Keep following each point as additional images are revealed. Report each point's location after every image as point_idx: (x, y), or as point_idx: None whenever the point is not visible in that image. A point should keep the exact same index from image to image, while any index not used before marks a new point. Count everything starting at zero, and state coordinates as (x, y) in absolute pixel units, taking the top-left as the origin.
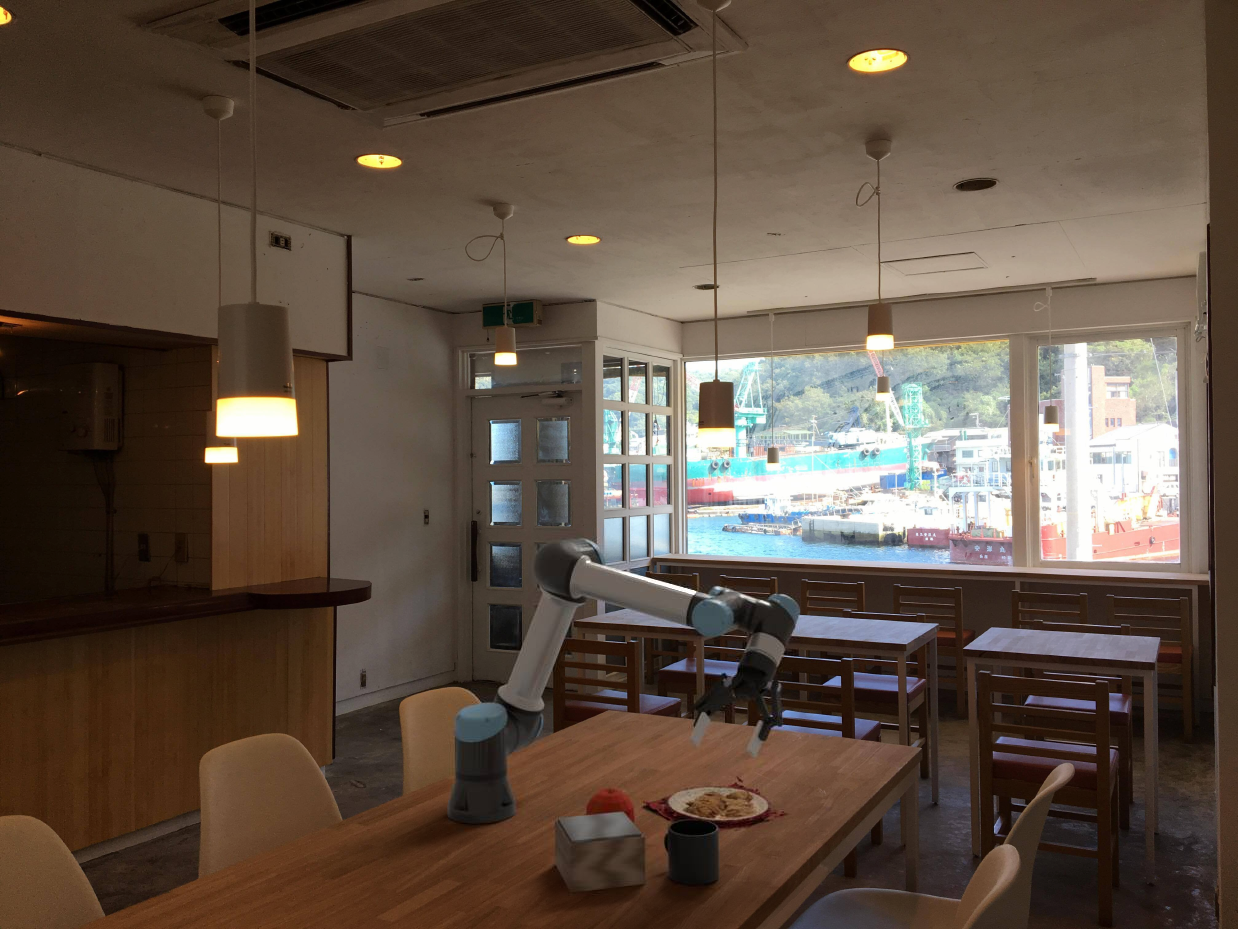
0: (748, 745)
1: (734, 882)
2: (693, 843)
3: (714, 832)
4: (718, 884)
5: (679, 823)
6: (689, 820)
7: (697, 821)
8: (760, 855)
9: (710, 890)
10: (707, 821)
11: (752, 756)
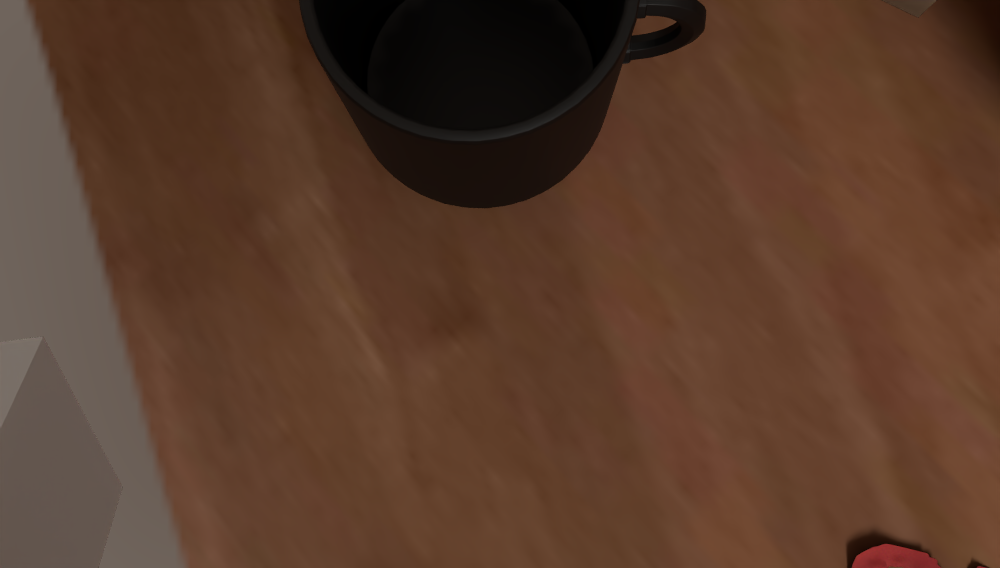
0: (16, 386)
1: (285, 172)
2: None
3: (300, 5)
4: (326, 98)
5: (623, 5)
6: (596, 68)
7: (552, 106)
8: (425, 563)
9: None
10: (481, 130)
11: (109, 479)
